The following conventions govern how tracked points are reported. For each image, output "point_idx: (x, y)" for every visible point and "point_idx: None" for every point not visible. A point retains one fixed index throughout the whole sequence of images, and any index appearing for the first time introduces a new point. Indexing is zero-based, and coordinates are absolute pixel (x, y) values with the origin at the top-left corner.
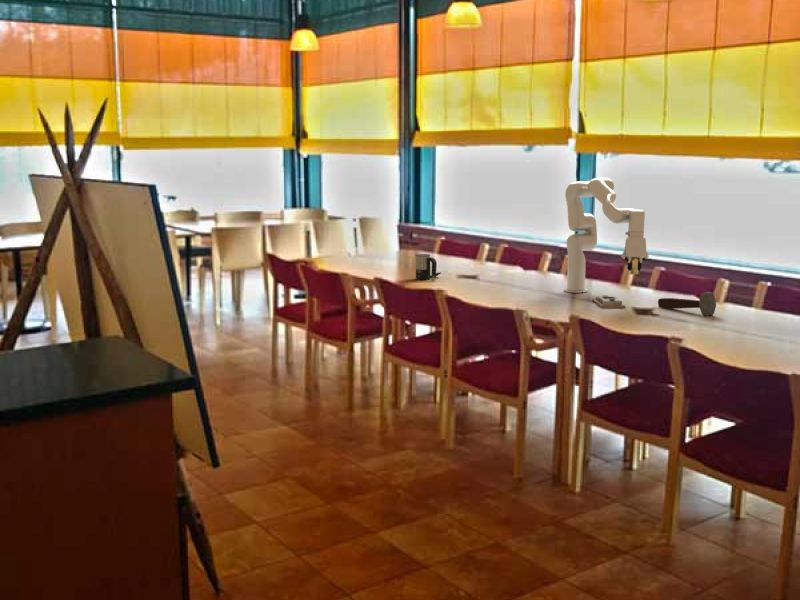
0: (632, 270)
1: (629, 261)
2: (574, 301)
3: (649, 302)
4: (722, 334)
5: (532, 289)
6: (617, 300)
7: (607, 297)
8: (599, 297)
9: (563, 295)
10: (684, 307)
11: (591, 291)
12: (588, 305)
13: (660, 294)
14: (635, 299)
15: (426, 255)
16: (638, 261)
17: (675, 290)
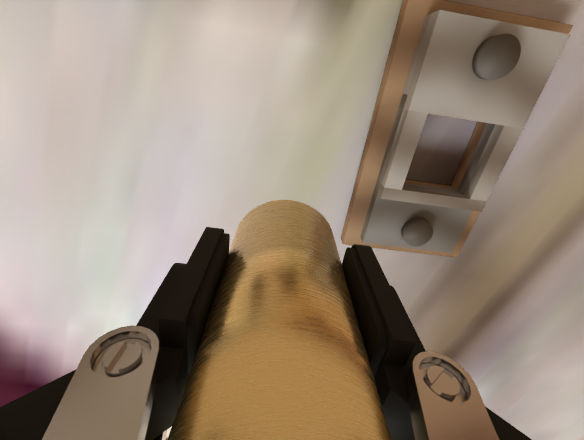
0: (328, 241)
1: (439, 390)
2: (547, 241)
3: (179, 161)
4: None
5: None
6: (455, 47)
7: (432, 192)
8: (496, 180)
9: (492, 353)
10: None
11: None
12: (565, 127)
13: (81, 329)
14: (230, 246)
15: None
16: (197, 374)
17: (8, 384)
